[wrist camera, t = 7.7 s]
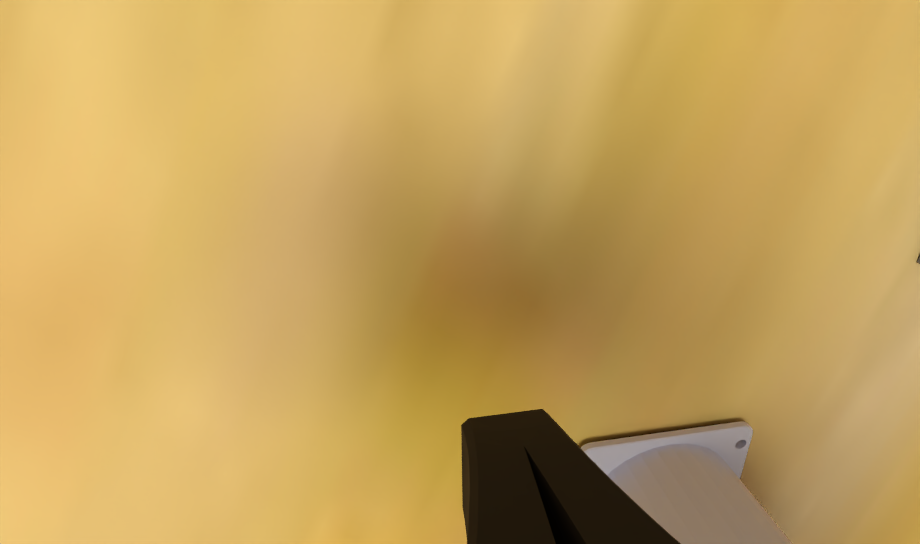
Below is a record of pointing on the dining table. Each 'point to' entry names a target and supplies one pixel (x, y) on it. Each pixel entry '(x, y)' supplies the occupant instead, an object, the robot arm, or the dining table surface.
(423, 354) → the dining table surface
